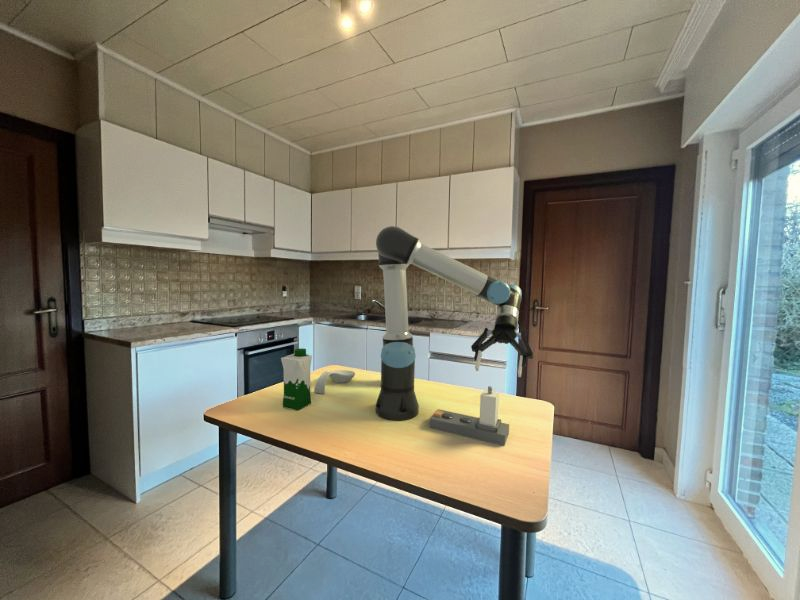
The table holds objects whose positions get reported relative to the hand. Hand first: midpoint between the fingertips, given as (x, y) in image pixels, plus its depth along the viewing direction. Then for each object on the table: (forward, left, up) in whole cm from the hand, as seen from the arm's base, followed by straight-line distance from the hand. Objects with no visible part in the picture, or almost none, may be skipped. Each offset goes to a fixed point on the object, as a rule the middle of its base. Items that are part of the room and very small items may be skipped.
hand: (497, 372), depth 109 cm
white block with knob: (0, -10, -14) cm, 17 cm away
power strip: (-6, -10, -17) cm, 21 cm away
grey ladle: (-68, +3, -17) cm, 70 cm away
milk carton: (-66, -21, -17) cm, 72 cm away
